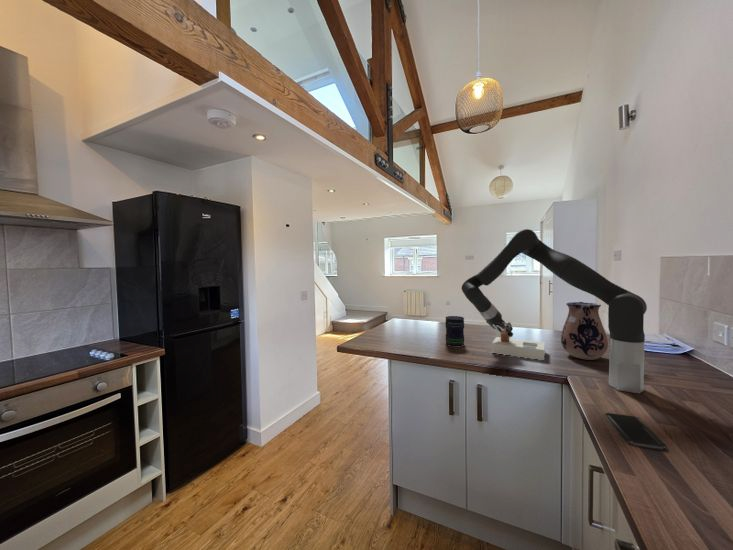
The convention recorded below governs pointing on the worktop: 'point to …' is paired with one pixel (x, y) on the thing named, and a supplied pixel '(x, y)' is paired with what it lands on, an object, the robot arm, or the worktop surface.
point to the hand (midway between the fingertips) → (507, 334)
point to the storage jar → (454, 330)
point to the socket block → (519, 348)
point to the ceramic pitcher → (584, 332)
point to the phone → (635, 431)
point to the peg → (504, 336)
